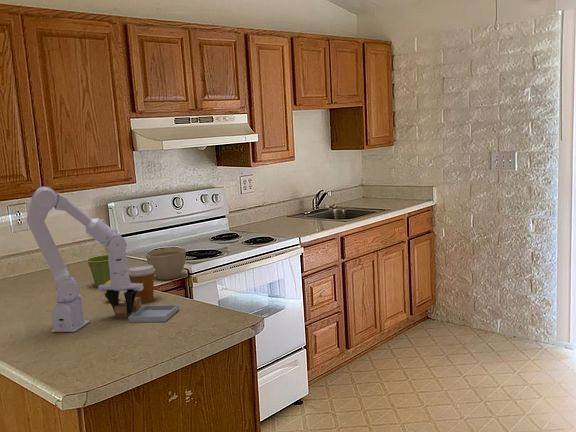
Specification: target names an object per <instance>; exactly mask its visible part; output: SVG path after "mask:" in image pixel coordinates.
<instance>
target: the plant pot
mask: <svg viewBox="0 0 576 432" xmlns="http://www.w3.org/2000/svg"><path fill="white" fill-rule="evenodd" d="M108 258H109V256H108V254H102V255H101V254H100V255H97V256H96V255H95V256H91V257H89V258H87V259H86V260H85V261H86V262H87V264H88V266H89V268H90V271H91V275H92V278H93V281H94V286H95V287H96V288H98V286H100V285H104V284H105V283H106V282H108V281H109V280H111V279H110V270H109V262H108Z"/></svg>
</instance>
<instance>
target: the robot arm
mask: <svg viewBox="0 0 576 432" xmlns="http://www.w3.org/2000/svg"><path fill="white" fill-rule="evenodd" d="M29 201H30V202H29V205H28V206H29V207H28V210H27V211H28V212H27V216H26V223H27V225H28V227H29V229H30V231H31V234H32V235H33V237H34V240H35V241H36V244H37V246H38V247H39V250H40V252H41V254H42V256H43V258H44V260H45V261H46V264H47V266H48V268H49V270H50V272H51V274H52V276H53V279H54V280H55V281H54V282H55V288H56V290H57V295H58V296H57V297H56V299H55V300H56V303H55V305H54V306H52V307H53V308H52V309H51V319H52V327H53V329H51V333H66V332H67V333H70V332H71V333H72V332H77V331H78V330H80V329H81V328H82V327H84V326H86V325H87V324H89V323H90V322H91V320H89V319H88V320H85V316H84V310H83V309H84V307H83V302H82V301H83V300H82V295H81V294H80V292H81V291H80V286H79V284H78V281H77V279H76V277H75V276H73V275H71V274H70V272H69V269H68V268H67V266H66V264H65V262H64V260H63V257H62V256H61V253H60V251H59V249H58V247H57V245H56V243H55V241H54V239H53V237H52V234H51V232H50V230H49V228H48V226H47V224H46V222H45V221H46V218H47V217H48V216H49V215H48V214H49V212H50V211H51V210H52V209H53V208H54V210H57V211H62V212H66V213H67V214H68V215H70V216H71V217H72V218H74V219H75V220H77V221H78V222H79V223H81V224H82V225H83V226H84V227H85V233H87V234H88V235H89V236H91V237H92V238H93V239H95V241H97V243H100V244H101V245H105V246H104V247H105V248H106V249H107V255H108V256H109V258H108V262H109V270H110V279H111V284H104V285H100V286H98V287H97V288H98V292H99V293H102V292H103V293H104V291H107V292H106V294H105V295H104V297H105V296H106V297H105V299H107V300H108V302H109V304H110V305H111V307H112V310H113V313H114V314H115V310H114V307H115V306H116V305H118V304H119V303H120V302H119V301H120V300H119V299H120V298H119V296H120V293H119V291H120V292H123V291H124V293H123V297H124V300H126V303H127V311H128V313H131V312H132V313H134V312H133V304H134V300H135V296H136V294H137V291H142V290H143V283H142V284H140V283H131V282H130V278H129V273H128V269H129V265H128V257H127V251H126V250H127V247H128V243H127V241H126V239H125V238H124V237H123V236H122V235H121V233H118V231H117V230H116V229H113V228H112V227H110V226H109V225H108V224H107V223H106V220H104V218H102V219H100V218H99V217H96V218H95V217H94V218H92V217H91V216H89V215H88V214H87V213H86V212H85V211H83V210H82V209H81V207H78V205H76V204H75V203H74V202H72V200H70V199H69V198H68V197H66V196H64V195H63V194H61V193H59V192H58V191H56V192H55V191H54V189H53V188H51V187H49V186H40V187H37V189H36V190H35V191H34V192H33V193H32V196H31V198H30V200H29Z"/></svg>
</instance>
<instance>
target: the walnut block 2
mask: <svg viewBox="0 0 576 432" xmlns="http://www.w3.org/2000/svg"><path fill="white" fill-rule="evenodd" d="M123 303H126V299H124V300H123ZM142 307H143V306H142V303H141V297H135V300H134V304H133V312H132V313H135V312H136V311H137V310H139V309H140V308H142Z"/></svg>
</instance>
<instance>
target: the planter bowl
mask: <svg viewBox="0 0 576 432" xmlns="http://www.w3.org/2000/svg"><path fill="white" fill-rule="evenodd" d="M186 250H187V249H186V248H183V247H167V248H166V247H165V248H160V249H159V248H158V249H155V250H151V251H149V252H146V253H145V258H146V262H147V265H153V267H154V269H155V271H154V276H155V277H156V279H157V280H161V281H169V280H174V279H178V278H180V277H181V272H183V269H184V267H185V264H186V260H187V259H186V258H187V255H186V253H187V251H186Z"/></svg>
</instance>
